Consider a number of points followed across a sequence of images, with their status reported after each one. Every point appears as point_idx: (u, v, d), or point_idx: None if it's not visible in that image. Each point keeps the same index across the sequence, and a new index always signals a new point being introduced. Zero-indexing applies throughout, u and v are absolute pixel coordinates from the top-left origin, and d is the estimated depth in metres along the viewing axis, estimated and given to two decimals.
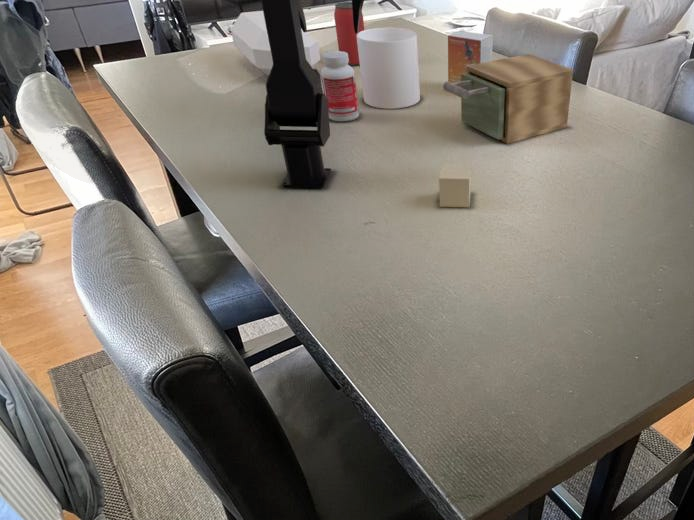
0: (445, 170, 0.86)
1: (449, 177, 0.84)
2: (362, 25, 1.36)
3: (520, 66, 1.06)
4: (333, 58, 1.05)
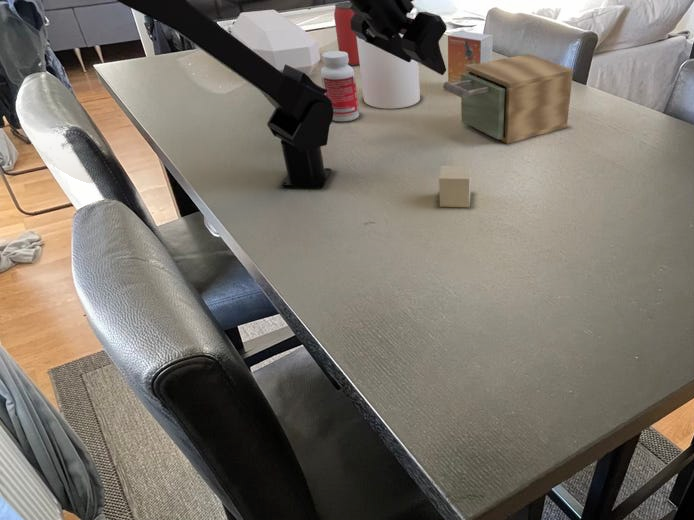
0: (445, 170, 0.86)
1: (449, 177, 0.84)
2: None
3: (520, 66, 1.06)
4: (333, 58, 1.05)
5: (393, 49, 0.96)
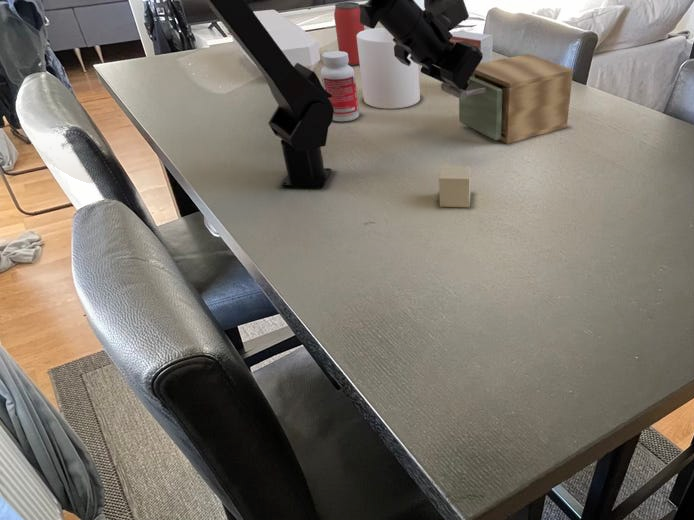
0: (445, 170, 0.86)
1: (449, 177, 0.84)
2: (362, 25, 1.36)
3: (520, 66, 1.06)
4: (333, 58, 1.05)
5: None
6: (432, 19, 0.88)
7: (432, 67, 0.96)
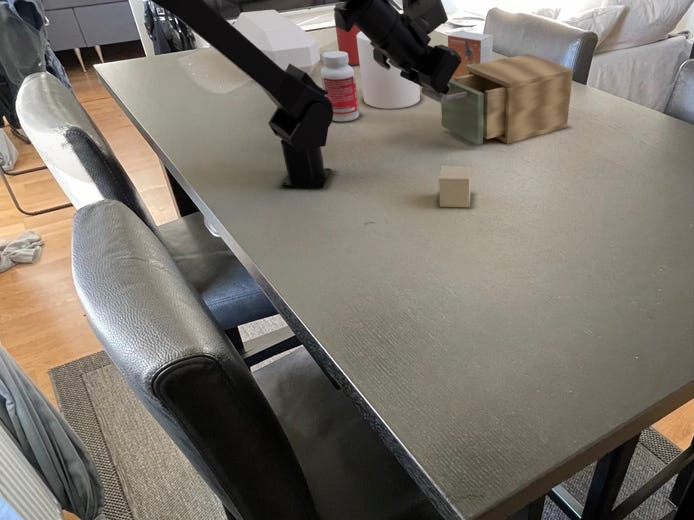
0: (445, 170, 0.86)
1: (449, 177, 0.84)
2: None
3: (520, 66, 1.06)
4: (333, 58, 1.05)
5: None
6: (409, 22, 0.87)
7: (411, 71, 0.94)
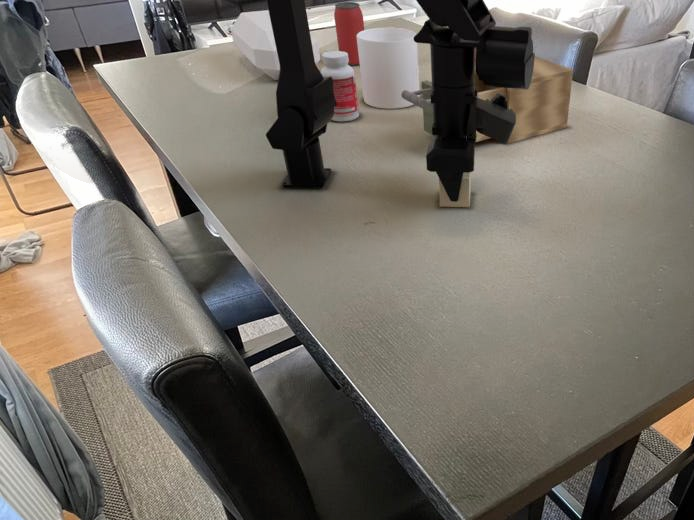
0: None
1: None
2: (362, 25, 1.36)
3: None
4: (333, 58, 1.05)
5: None
6: (471, 104, 0.77)
7: None
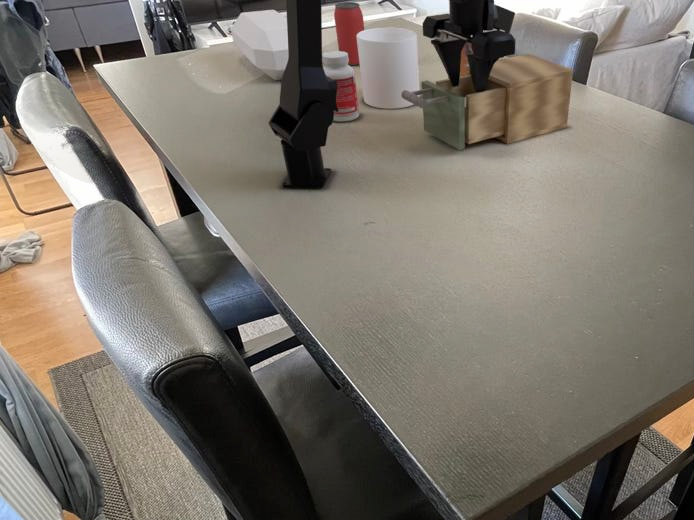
0: None
1: None
2: (362, 25, 1.36)
3: (520, 66, 1.06)
4: (333, 58, 1.05)
5: (449, 64, 1.01)
6: (489, 0, 0.92)
7: (444, 42, 0.99)
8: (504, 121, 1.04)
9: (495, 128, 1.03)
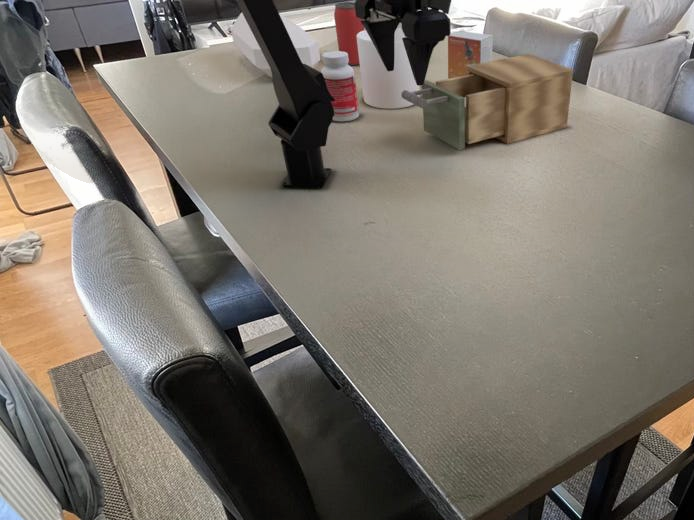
0: None
1: None
2: (362, 25, 1.36)
3: (520, 66, 1.06)
4: (333, 58, 1.05)
5: (382, 46, 0.93)
6: None
7: (375, 22, 0.91)
8: (504, 121, 1.04)
9: (495, 128, 1.03)
